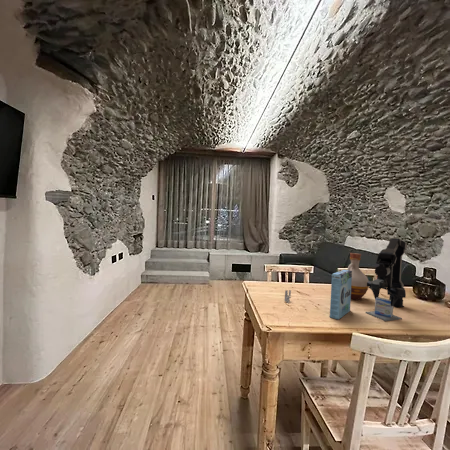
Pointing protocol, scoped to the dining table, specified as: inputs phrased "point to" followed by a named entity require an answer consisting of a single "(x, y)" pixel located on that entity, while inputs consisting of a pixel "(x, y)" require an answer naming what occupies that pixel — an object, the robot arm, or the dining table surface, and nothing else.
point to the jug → (357, 278)
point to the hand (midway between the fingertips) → (383, 303)
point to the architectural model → (287, 295)
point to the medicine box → (383, 307)
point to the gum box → (340, 294)
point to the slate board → (383, 316)
